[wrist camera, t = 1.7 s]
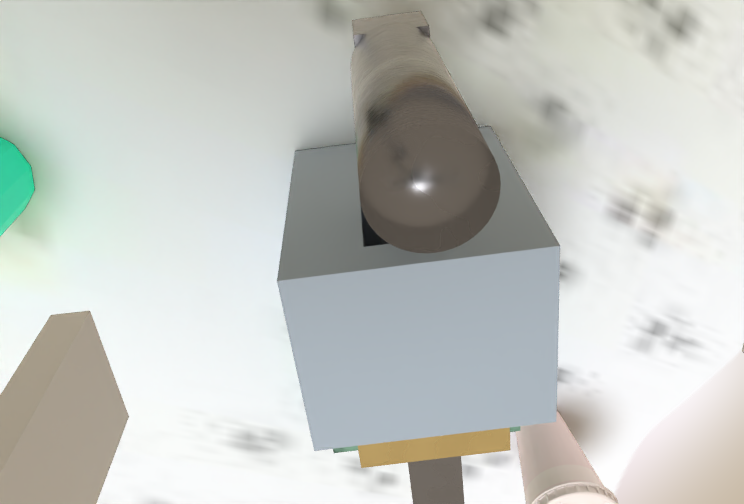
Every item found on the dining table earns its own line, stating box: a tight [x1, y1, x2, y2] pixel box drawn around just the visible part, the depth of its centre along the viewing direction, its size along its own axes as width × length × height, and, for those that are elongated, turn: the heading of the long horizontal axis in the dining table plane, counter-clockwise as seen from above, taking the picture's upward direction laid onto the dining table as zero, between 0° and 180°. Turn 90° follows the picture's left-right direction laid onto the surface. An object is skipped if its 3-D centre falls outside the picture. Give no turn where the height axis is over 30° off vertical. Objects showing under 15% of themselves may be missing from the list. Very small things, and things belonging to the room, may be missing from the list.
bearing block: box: [277, 126, 560, 451], centre depth 38 cm, size 10×12×15 cm
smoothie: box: [516, 411, 618, 504], centre depth 48 cm, size 6×6×14 cm
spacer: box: [358, 427, 510, 468], centre depth 40 cm, size 2×8×8 cm, turn 97°
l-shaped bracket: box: [351, 11, 501, 504], centre depth 31 cm, size 30×4×15 cm, turn 7°
